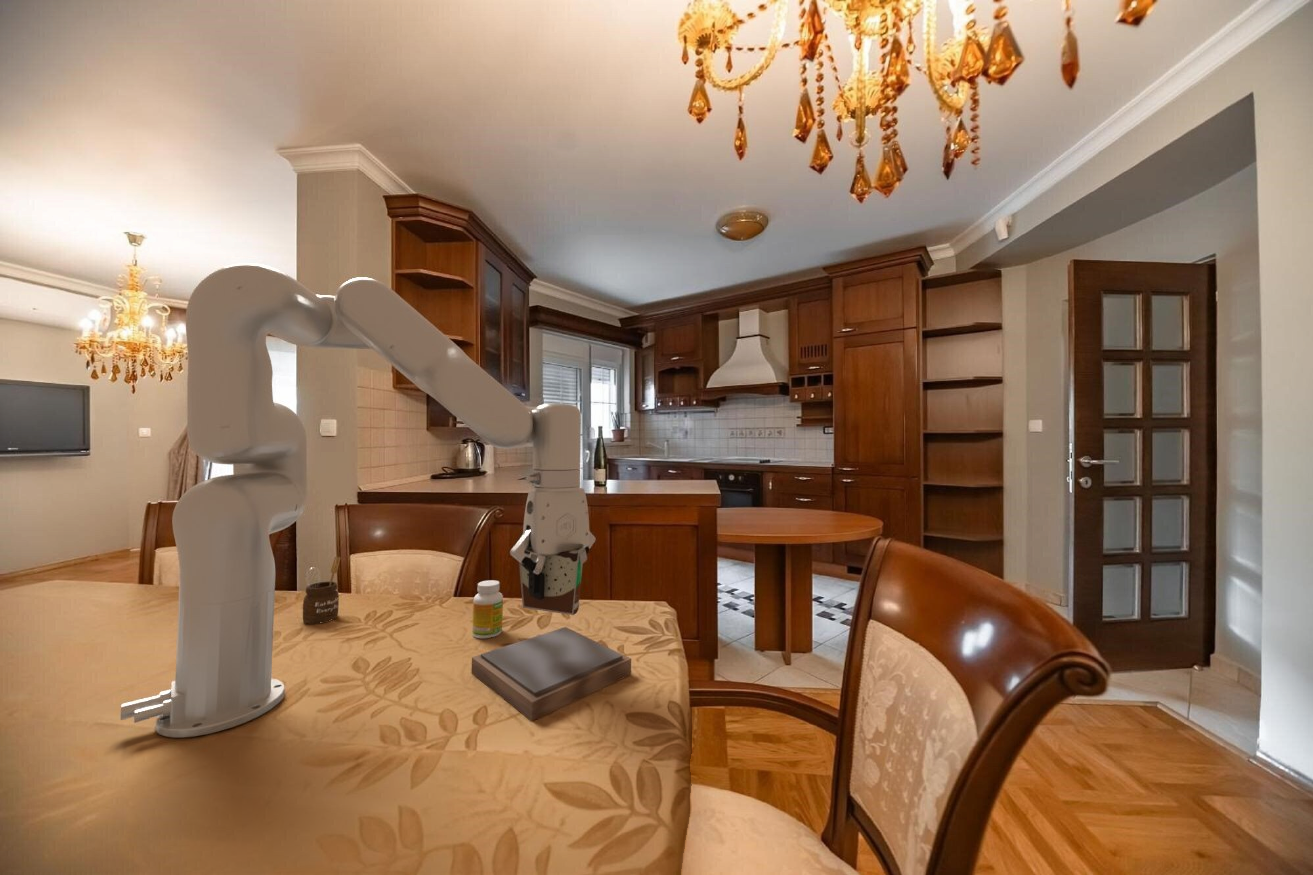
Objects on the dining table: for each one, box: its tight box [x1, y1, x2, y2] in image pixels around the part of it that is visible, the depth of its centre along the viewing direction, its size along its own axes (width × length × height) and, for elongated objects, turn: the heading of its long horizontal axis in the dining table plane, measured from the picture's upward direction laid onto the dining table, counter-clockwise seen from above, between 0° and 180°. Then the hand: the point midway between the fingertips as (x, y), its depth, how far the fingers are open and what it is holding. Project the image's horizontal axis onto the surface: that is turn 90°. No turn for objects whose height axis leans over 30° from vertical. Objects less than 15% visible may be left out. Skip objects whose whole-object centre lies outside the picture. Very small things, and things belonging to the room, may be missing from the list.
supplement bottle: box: [471, 579, 504, 640], centre depth 88 cm, size 5×5×10 cm
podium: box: [470, 626, 632, 722], centre depth 73 cm, size 18×18×3 cm
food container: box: [518, 544, 588, 616], centre depth 74 cm, size 12×6×10 cm, turn 69°
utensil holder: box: [302, 556, 341, 625], centre depth 94 cm, size 6×6×12 cm
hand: (555, 591), depth 74 cm, fingers closed on food container, 6 cm apart
